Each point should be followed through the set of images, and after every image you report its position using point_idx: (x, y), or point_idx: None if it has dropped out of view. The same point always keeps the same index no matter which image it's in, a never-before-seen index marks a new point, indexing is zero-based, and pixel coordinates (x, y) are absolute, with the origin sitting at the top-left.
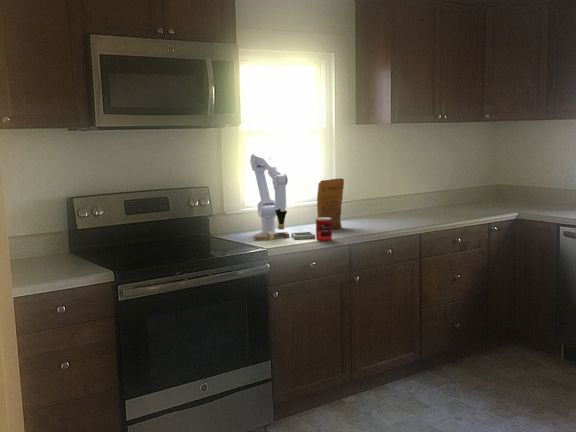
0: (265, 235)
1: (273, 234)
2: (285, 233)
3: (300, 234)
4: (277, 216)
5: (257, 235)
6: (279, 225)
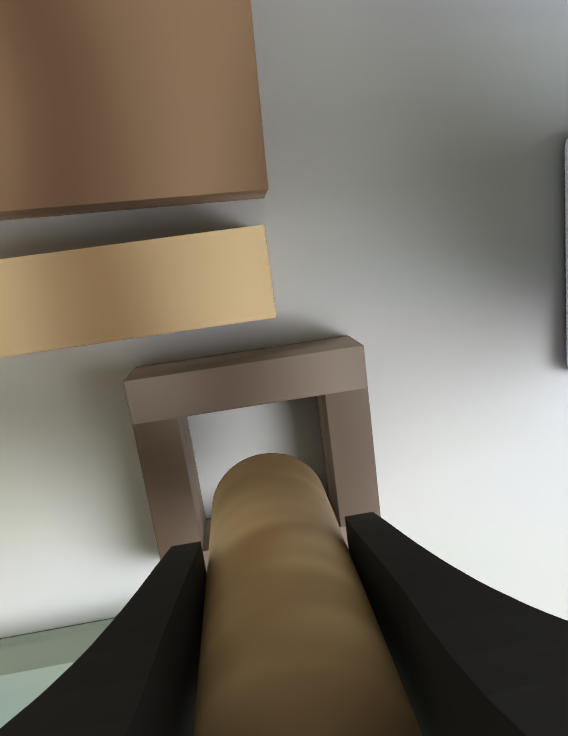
0: (37, 185)
1: None
2: None
3: None
4: (416, 611)
5: (57, 9)
6: (222, 517)
